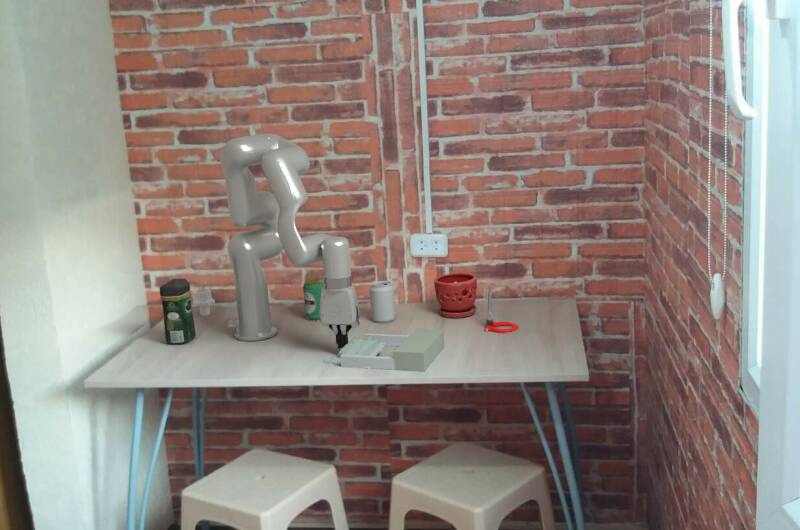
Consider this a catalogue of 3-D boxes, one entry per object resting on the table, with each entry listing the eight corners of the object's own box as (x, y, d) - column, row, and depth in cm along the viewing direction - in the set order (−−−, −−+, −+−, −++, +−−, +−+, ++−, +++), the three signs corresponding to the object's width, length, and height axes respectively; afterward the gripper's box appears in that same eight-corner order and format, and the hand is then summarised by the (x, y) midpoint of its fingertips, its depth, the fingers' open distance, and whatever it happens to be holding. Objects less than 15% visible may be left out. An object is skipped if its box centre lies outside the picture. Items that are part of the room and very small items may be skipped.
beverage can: (300, 319, 288) (297, 282, 285) (318, 312, 294) (315, 277, 291) (318, 322, 283) (315, 285, 280) (336, 316, 288) (333, 279, 286)
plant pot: (456, 306, 292) (454, 270, 290) (486, 313, 283) (485, 275, 280) (427, 315, 284) (425, 278, 281) (457, 323, 274) (455, 284, 272)
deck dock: (341, 366, 241) (339, 348, 240) (366, 343, 259) (365, 326, 258) (424, 371, 234) (423, 352, 233) (444, 347, 252) (443, 329, 251)
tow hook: (521, 326, 268) (490, 324, 271) (521, 284, 265) (490, 282, 268) (514, 335, 261) (483, 332, 264) (515, 292, 258) (484, 289, 261)
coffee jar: (174, 335, 278) (167, 276, 274) (199, 335, 276) (192, 276, 272) (161, 345, 268) (154, 284, 264) (187, 345, 267) (180, 284, 263)
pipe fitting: (214, 316, 296) (211, 292, 295) (192, 317, 296) (189, 294, 295) (218, 311, 302) (215, 288, 301) (196, 312, 303) (194, 289, 301)
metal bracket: (347, 330, 254) (393, 336, 246) (352, 347, 257) (397, 354, 249) (319, 359, 244) (365, 366, 236) (324, 377, 246) (370, 384, 238)
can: (400, 318, 282) (398, 280, 280) (387, 324, 276) (385, 286, 274) (380, 315, 286) (378, 278, 284) (367, 322, 280) (364, 284, 278)
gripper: (307, 285, 245) (312, 350, 249) (358, 286, 241) (363, 352, 245) (317, 278, 252) (322, 341, 256) (368, 279, 248) (372, 344, 252)
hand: (342, 346), depth 251 cm, fingers closed
